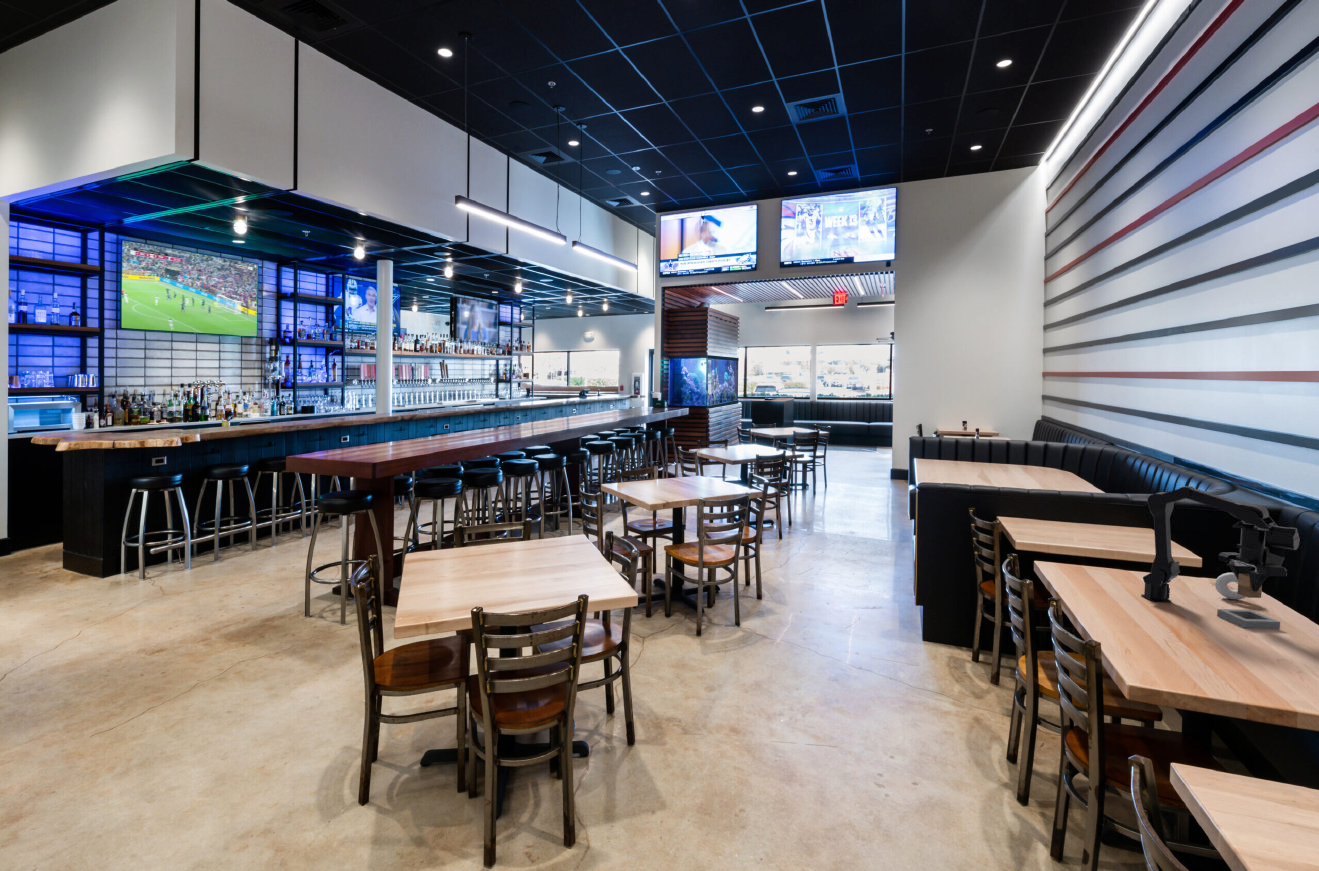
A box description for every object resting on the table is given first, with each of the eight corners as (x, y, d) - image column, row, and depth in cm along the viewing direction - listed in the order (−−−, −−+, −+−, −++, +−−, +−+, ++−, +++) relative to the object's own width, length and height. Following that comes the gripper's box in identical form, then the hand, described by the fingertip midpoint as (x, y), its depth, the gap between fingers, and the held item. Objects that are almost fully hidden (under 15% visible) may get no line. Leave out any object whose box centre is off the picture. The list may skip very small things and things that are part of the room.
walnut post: (1248, 597, 197) (1249, 576, 197) (1237, 593, 201) (1238, 573, 201) (1261, 597, 197) (1262, 577, 197) (1250, 593, 201) (1251, 573, 201)
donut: (1214, 598, 223) (1216, 571, 222) (1213, 595, 226) (1215, 569, 225) (1252, 603, 217) (1254, 576, 216) (1249, 600, 220) (1251, 574, 219)
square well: (1244, 628, 195) (1245, 621, 195) (1217, 616, 205) (1217, 609, 205) (1279, 629, 194) (1280, 622, 194) (1250, 616, 205) (1250, 609, 204)
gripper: (1307, 550, 188) (1303, 599, 189) (1252, 536, 207) (1249, 580, 208) (1269, 550, 189) (1265, 598, 190) (1218, 536, 207) (1215, 580, 209)
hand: (1249, 589), depth 199 cm, fingers closed on walnut post, 4 cm apart
